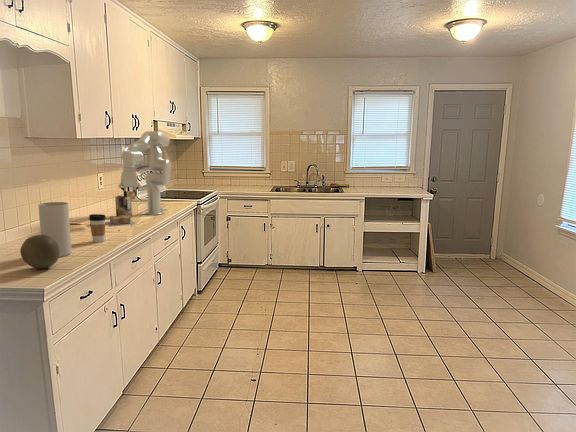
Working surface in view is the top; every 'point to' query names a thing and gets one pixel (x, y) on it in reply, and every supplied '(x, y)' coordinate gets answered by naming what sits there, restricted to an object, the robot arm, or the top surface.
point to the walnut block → (119, 220)
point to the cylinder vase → (56, 224)
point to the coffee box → (123, 206)
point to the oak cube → (130, 195)
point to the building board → (119, 225)
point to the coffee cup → (97, 227)
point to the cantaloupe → (40, 251)
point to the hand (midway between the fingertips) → (129, 196)
